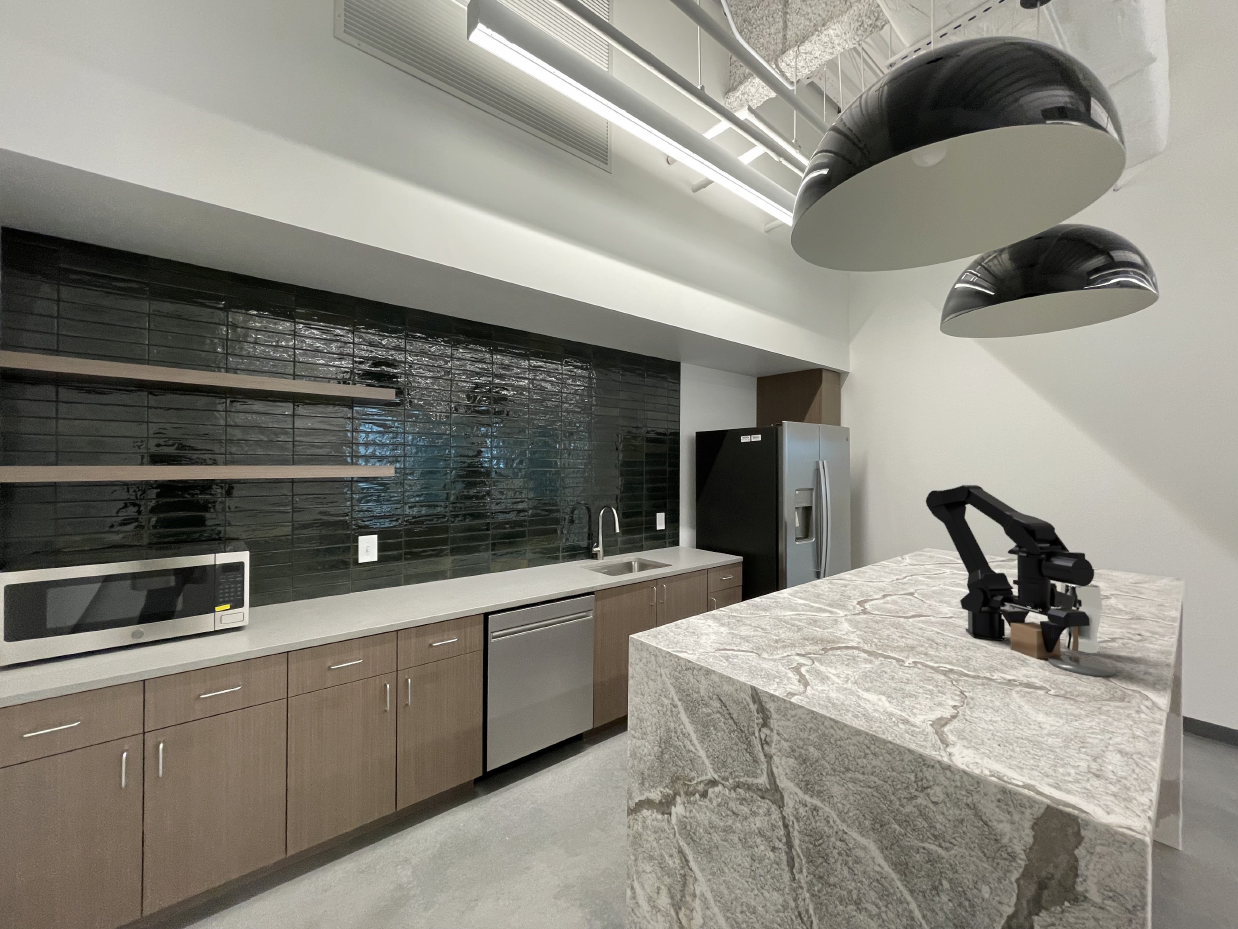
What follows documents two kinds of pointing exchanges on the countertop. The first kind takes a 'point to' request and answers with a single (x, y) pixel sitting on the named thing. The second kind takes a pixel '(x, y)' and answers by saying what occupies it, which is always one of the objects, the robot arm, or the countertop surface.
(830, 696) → the countertop surface
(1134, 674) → the countertop surface
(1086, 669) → the slate coaster
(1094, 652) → the beer glass
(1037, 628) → the walnut block
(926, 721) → the countertop surface
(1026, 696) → the countertop surface
